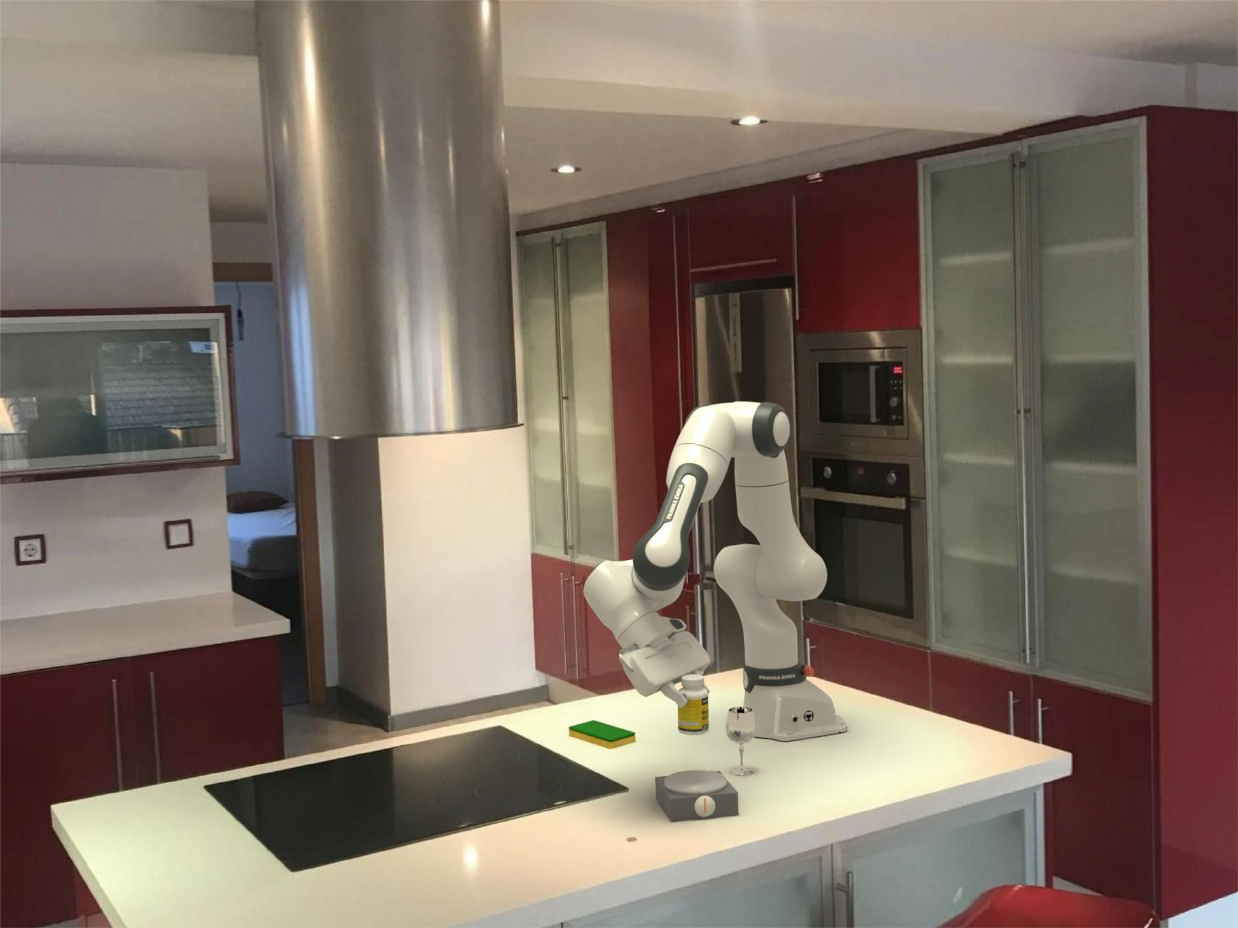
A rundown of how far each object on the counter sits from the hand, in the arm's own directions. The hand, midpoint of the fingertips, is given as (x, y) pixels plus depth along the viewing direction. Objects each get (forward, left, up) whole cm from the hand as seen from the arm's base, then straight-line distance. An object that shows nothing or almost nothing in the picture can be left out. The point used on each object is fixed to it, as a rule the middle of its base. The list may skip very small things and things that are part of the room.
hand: (696, 700), depth 227 cm
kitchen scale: (0, 0, -19) cm, 19 cm away
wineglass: (-13, -16, -19) cm, 28 cm away
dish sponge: (+9, -45, -20) cm, 50 cm away
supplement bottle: (0, 0, -6) cm, 6 cm away
